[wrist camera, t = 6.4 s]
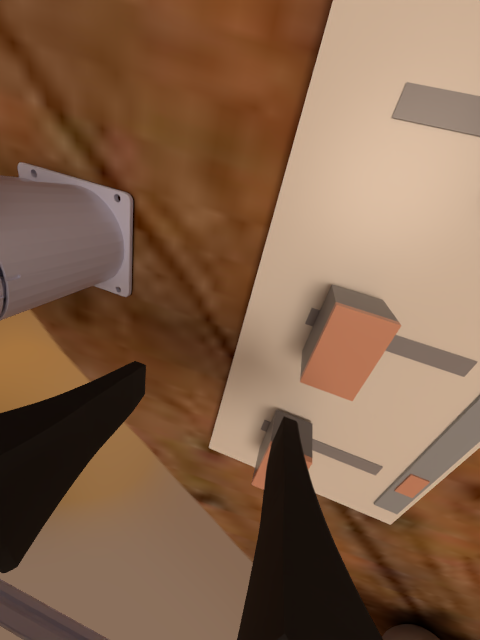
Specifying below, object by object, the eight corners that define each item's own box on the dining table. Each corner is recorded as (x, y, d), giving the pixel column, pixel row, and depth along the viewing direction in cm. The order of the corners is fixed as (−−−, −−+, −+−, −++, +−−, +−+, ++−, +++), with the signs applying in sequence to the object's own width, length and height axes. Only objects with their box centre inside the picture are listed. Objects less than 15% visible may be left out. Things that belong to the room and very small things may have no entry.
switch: (259, 446, 22) (251, 484, 19) (276, 409, 20) (269, 445, 17) (291, 459, 22) (288, 500, 19) (312, 423, 19) (312, 463, 16)
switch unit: (213, 435, 26) (207, 450, 24) (365, -99, 10) (375, -158, 8) (386, 506, 24) (391, 528, 22) (960, -38, 7) (1135, -103, 6)
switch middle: (302, 350, 17) (299, 382, 14) (331, 284, 14) (336, 304, 11) (345, 365, 16) (352, 401, 13) (382, 299, 14) (401, 325, 11)
